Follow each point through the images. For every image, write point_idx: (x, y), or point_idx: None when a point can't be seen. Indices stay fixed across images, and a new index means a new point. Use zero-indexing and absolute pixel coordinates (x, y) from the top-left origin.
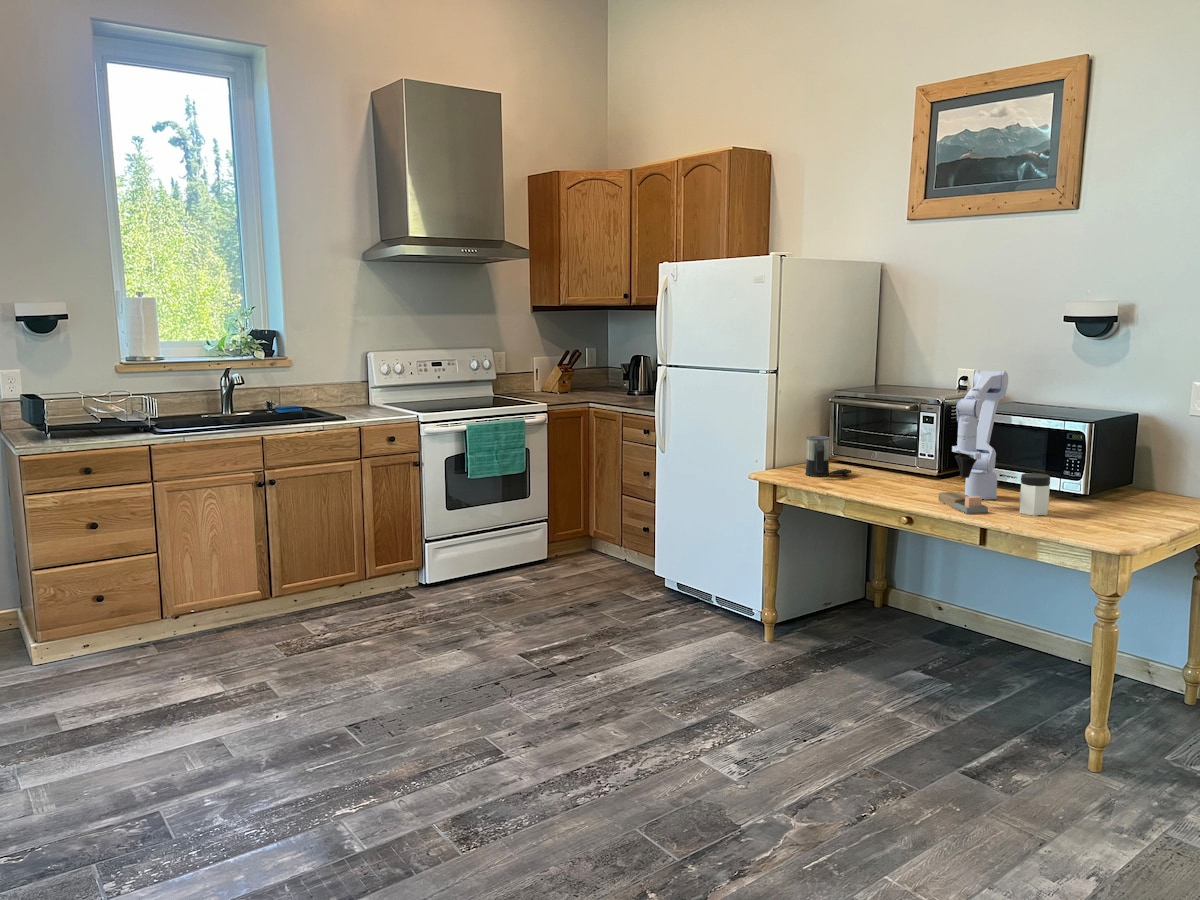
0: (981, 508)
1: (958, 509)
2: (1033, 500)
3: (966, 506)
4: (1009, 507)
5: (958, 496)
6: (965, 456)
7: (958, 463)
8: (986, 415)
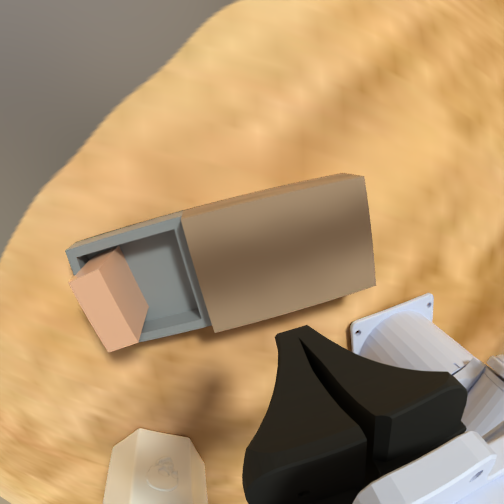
0: None
1: (144, 222)
2: (107, 483)
3: (100, 257)
4: (231, 421)
5: (268, 260)
6: (325, 500)
7: (369, 371)
8: None
